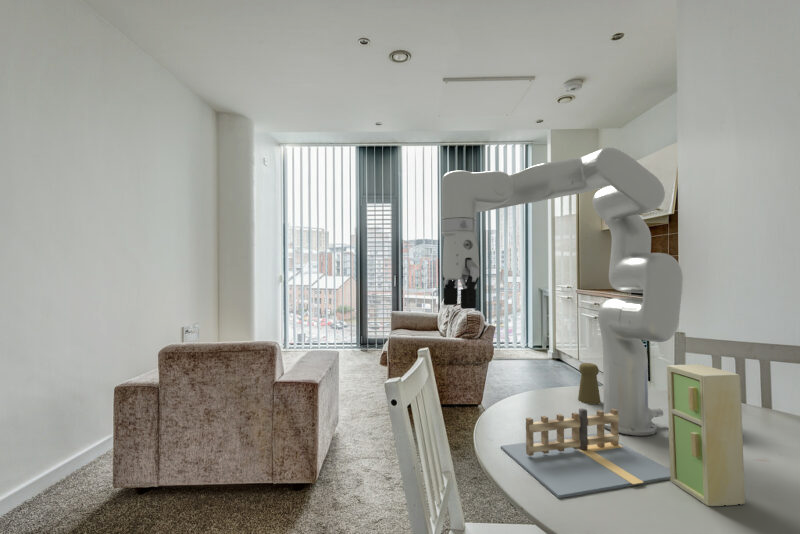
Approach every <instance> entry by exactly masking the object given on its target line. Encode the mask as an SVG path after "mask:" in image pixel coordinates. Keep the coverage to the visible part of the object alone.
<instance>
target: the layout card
mask: <svg viewBox="0 0 800 534" xmlns="http://www.w3.org/2000/svg"><path fill="white" fill-rule="evenodd" d="M596 435H597V433H592V434H587V437H588V436H596ZM565 439H572V436H566V437H564V440H565ZM549 441H557V438H551V439H549ZM533 443H541V440H538V441H537V440H536V441H533ZM500 449H501V450H502V451H503V452H504V453H506V454H507V455H508V456H509V457H510V458H511V459H512V460H514V461H515V462H516V463H517V464H518V465H519V466H521V467H522V468H523V469H524V470H525V471H526V472H527V473H529V474H530V476H532V477H533V478H534V479H535V480H537V481H538V483H540V484H541V485H542V486H544V488H546V489H547V490H548V491H549V492H550V493H552V494H553V495H554V496H555V497H556V498H557V499H562V498H567V497H568V498H569V497H574V496H580V495H587V494H592V493H597V492H603V491H604V492H605V491H609V490H610V491H611V490H616V489H620V488H625V487H626V488H627V487H631V486H632V487H633V486H638V485H643V484H651V483H656V482H660V481H667V480H671V477H670V467H669V468H668V467H667V466H664V465H663V464H662V463H659V462H657V461H655V460H653V459H651V458H649V457H648V456H646V455H643V454H642V453H640V452H638V451H637V450H634V449H633V448H630V447H628V446H627V445H625V444H623V443H621V442H620V441H618V446H614V445H612V444H611V442H608V443H605V447H604V448H600V447H598V446H597V444H593V445H588V450H587V451H583V450H580V449H576V450H575V449H574V448H572V447H571V448H564V451H561V452H560V451H558V450H557V449H556V450H549V453H546V454H544V453H543V452H534V455H532V456H529V455H527V454H526V442H522V443H521V442H520V443H514V444H505V445H500Z"/></svg>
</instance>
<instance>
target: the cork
mask: <svg viewBox="0 0 800 534" xmlns="http://www.w3.org/2000/svg"><path fill="white" fill-rule="evenodd" d="M578 372H580V373H579V374H580V381H579V389H578V396H577V397H578V398H577V401H578V402H580V401H581V403H583V402H584V403H583V404H586V403H588V405H600V404H601V395H600V390H599V383H598V382H599V381H598V374H599V372H600V371H599V366H598V365H596V364H594V363H591V362H582V363H581V364H580V365H579V366H578ZM599 403H600V404H599Z"/></svg>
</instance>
